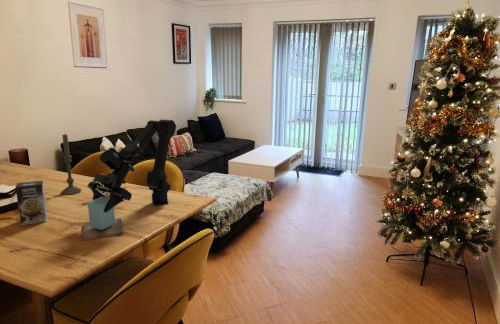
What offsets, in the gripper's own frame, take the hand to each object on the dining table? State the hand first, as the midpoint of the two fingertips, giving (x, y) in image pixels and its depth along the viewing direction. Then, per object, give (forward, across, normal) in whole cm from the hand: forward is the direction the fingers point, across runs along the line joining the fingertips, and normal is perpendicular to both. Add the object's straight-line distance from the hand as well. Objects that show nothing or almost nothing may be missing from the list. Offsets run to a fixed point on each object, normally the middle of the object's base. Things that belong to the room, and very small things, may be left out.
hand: (98, 210), depth 133 cm
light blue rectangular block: (+4, 0, +6) cm, 7 cm away
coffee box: (+11, -31, +2) cm, 33 cm away
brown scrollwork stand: (-12, -29, +25) cm, 40 cm away
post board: (+5, 0, +7) cm, 9 cm away
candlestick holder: (-11, -49, +23) cm, 55 cm away
